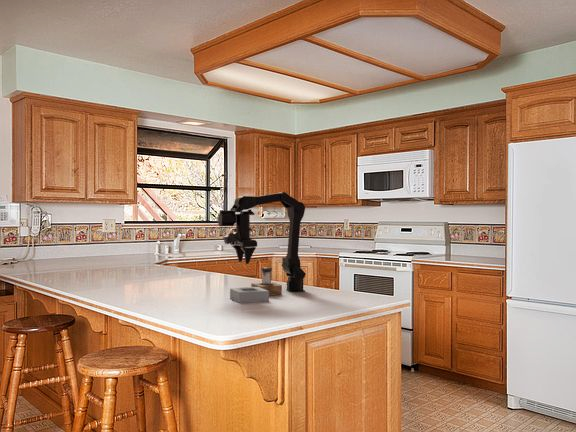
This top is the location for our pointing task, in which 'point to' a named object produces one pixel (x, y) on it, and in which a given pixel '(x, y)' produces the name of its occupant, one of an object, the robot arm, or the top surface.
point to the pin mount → (270, 288)
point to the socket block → (249, 294)
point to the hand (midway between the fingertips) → (243, 262)
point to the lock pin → (266, 275)
